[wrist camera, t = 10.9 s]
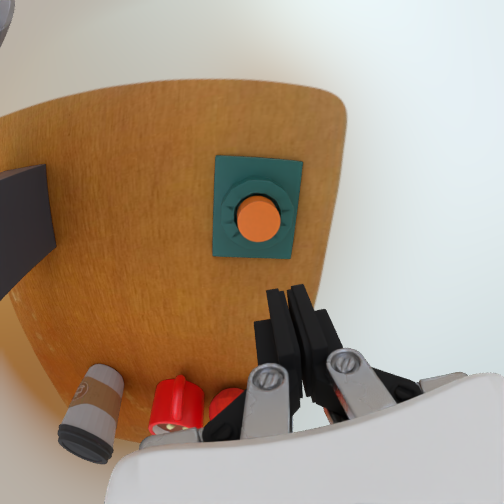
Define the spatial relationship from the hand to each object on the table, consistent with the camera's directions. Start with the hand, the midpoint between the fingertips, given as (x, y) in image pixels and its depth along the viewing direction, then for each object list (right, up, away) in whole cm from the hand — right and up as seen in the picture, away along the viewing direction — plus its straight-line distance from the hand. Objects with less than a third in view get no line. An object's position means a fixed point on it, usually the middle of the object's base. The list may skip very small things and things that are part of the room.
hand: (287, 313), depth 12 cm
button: (-1, +6, +12) cm, 14 cm away
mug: (-13, -18, +25) cm, 34 cm away
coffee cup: (-25, -17, +24) cm, 39 cm away
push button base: (-1, +7, +14) cm, 16 cm away
